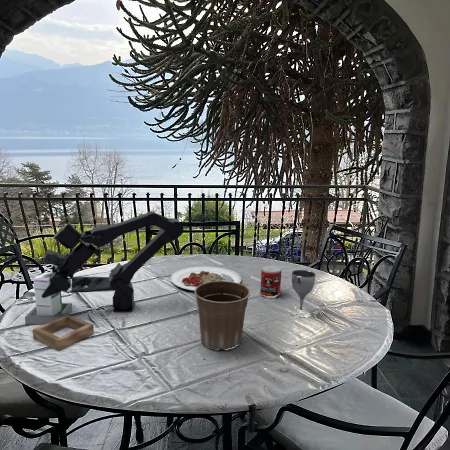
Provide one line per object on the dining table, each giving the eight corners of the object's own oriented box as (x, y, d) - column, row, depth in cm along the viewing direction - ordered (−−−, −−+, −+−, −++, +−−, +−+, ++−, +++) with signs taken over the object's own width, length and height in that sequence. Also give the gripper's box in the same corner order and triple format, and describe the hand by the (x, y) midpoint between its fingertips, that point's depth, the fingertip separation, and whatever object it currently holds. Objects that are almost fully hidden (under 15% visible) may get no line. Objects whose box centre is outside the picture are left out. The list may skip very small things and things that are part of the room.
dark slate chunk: (125, 293, 151) (125, 281, 150) (67, 293, 149) (66, 281, 148) (131, 279, 166) (131, 269, 165) (78, 279, 164) (78, 268, 163)
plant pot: (229, 362, 105) (231, 306, 102) (182, 344, 114) (183, 292, 110) (257, 337, 119) (259, 288, 116) (213, 323, 127) (214, 277, 124)
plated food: (253, 279, 171) (254, 272, 170) (215, 301, 146) (216, 293, 145) (198, 266, 186) (198, 259, 185) (155, 284, 161) (155, 276, 161)
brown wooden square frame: (68, 323, 125) (67, 314, 124) (93, 333, 118) (93, 324, 118) (33, 338, 115) (32, 329, 114) (59, 350, 108) (58, 340, 108)
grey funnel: (314, 311, 139) (317, 271, 135) (309, 320, 132) (312, 278, 128) (292, 307, 142) (295, 268, 139) (286, 315, 135) (289, 274, 132)
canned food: (257, 296, 151) (259, 269, 148) (263, 290, 158) (264, 264, 156) (276, 300, 148) (278, 272, 145) (282, 293, 155) (283, 266, 153)
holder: (72, 309, 134) (71, 303, 134) (61, 324, 124) (60, 317, 123) (39, 309, 134) (39, 302, 133) (25, 324, 123) (24, 317, 122)
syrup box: (52, 321, 125) (49, 279, 122) (36, 319, 126) (32, 277, 123) (63, 314, 131) (60, 273, 128) (47, 312, 132) (44, 271, 129)
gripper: (59, 235, 133) (26, 268, 132) (56, 249, 116) (18, 288, 115) (85, 255, 138) (53, 288, 136) (85, 272, 120) (49, 309, 119)
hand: (43, 292), depth 126 cm, fingers closed on syrup box, 7 cm apart
